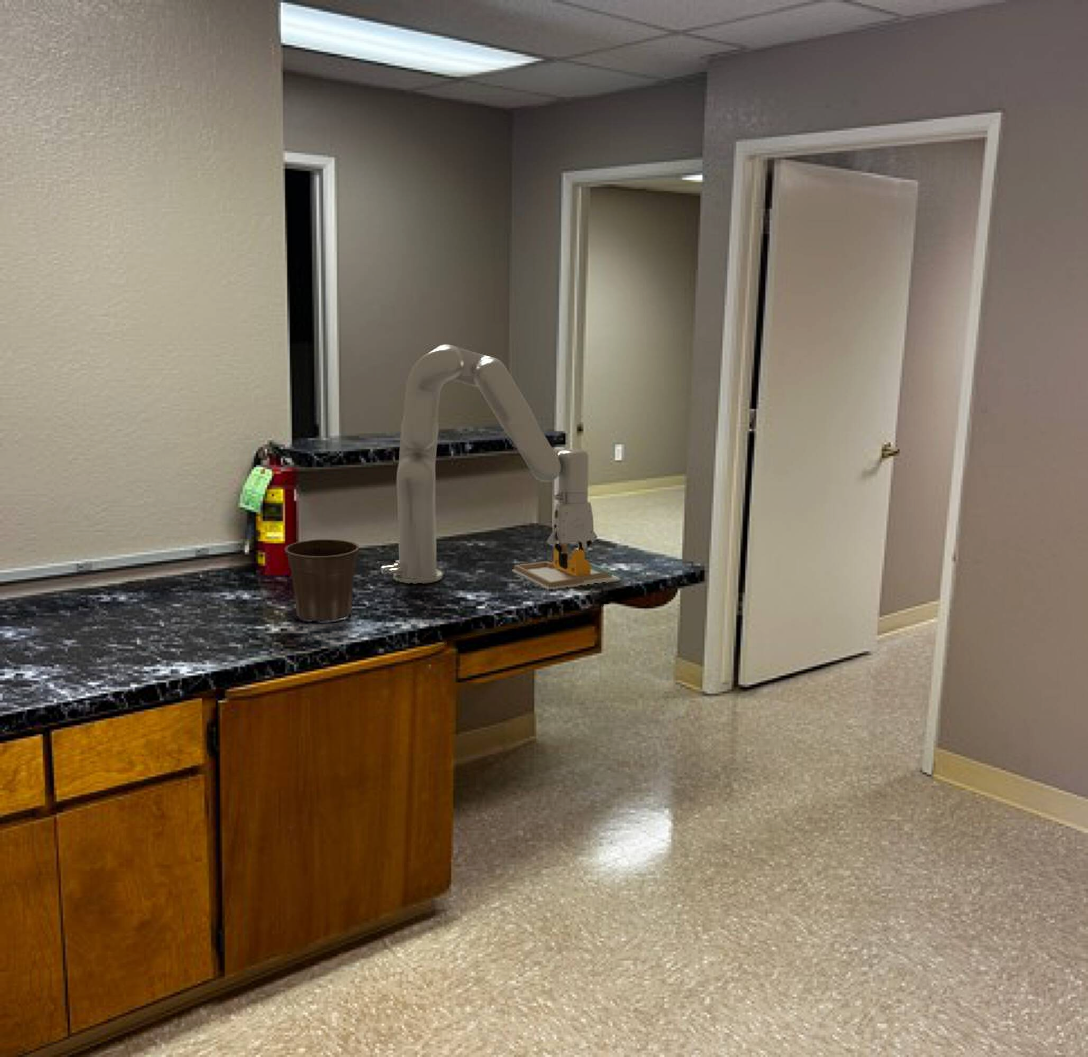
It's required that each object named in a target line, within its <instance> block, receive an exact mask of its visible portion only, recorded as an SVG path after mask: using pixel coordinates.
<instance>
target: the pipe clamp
mask: <svg viewBox="0 0 1088 1057" xmlns="http://www.w3.org/2000/svg"><path fill="white" fill-rule="evenodd" d="M555 542H556V543H558V541H555ZM566 554H567V555H568V562H567V569H564V568H562V567H560V566H559V552H557V550H556V549H555V548H554V547H553V563H554V567H556V568H558V569H561V570H563V571H565V572H567V573H569V574H571V575H573V576H580V575H587V574H590V573H591V563H592V562H590V561H587V559H586V556H585V551H584V550H581V549H580V550H577V549H572V551H571V557H570V555H569V554H568V549H567V548H566Z"/></svg>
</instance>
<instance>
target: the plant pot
mask: <svg viewBox="0 0 1088 1057" xmlns="http://www.w3.org/2000/svg"><path fill="white" fill-rule="evenodd" d="M359 550H360V546H359V544H357V543H355V542H354V541H349V540H344V539H328V538H327V539H326V538H325V539H323V538H322V539H310V540H303V541H298V542H297V541H296V542H294V543H293V542H292V543H291V544H289V545H286V546H285V547H284V552H285V553H286V554H287V559H288V566H289V568H290V572H291V579H292V587H293V595H294V603H295V611H296V613H295V614H296V617H297V616H298V617H299V618H302V619H305V620H316V621H320V620H321V621H327V620H336V619H340V618H344V617H347V616H349V615H350V614H351V615H352V610H353V609H352V607H353V593H354V592H353V591H354V577H355V566H356V565H357V556H358V551H359ZM349 617H350V616H349ZM316 621H315V622H316Z"/></svg>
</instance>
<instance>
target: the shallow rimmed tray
mask: <svg viewBox="0 0 1088 1057" xmlns="http://www.w3.org/2000/svg"><path fill="white" fill-rule="evenodd" d="M513 568H514V569H512V570H511V572H512V573H514V574H516V575H518V576H520V577H521V578H523V579H525V580H527V581H529V582H531V583H532V584H535V585H537V586H539V585H540V586H539V587H541V588H543V589H544V588H545V590H546V589H547V591H550V590H549V589H553V590H559V589H558V588H561V589H567V588H566V587H568V588H574V587H580V586H579V585H583V586H588V585H587V584H590V585H595V584H594V583H598V584H603V583H602V582H605V583H611V582H618V581H621V578H620V577H618V576H617V575H614V574H613V572H612V571H610V570H608V569H606V568H603V567H601V566H599V565H597V564H594V563H592V562H591V573H590V574H587V575H580V576H573V575H571V574H569V573H567V572H565V571H563V570H561V569H558V568H556V567H554V562H549V561H547V560H545V561H538V562H530V563H522V564H521V563H520V564H514V565H513Z"/></svg>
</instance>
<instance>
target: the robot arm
mask: <svg viewBox="0 0 1088 1057" xmlns="http://www.w3.org/2000/svg"><path fill="white" fill-rule="evenodd" d="M448 381H455V382H458V383H462V384H463V385H464V384H465V385H469V386H471V387H476V388H478V390H479V391H480V393H481V395H482V396H483V397H484V399H485V401H486V403H487V405H488V407H489V408H490V410H491V411H492V412H493V414H494V416H495V418H496V419H497V421H498V423H499V424H500V426H501V427H502V429H503V431H504V433H505V434H506V435H507V436H508V437H509V439H511V441H512V443H513V444H514V446H515V447H516V450H518V452H519V454H520V455H521V457H522V458H523V460H524V462H525V464H526V465H527V467H528V469H529V470H530V472H531V474H532V476H533V477H534V478H535V479H536V480H537V481H540V482H541V483H542V482H543V483H549V482H553V481H555V480H556V479H557V478H558V491H557V494H554V498H553V499H554V500H555V501H558V502H556V503H555V507H554V512H553V519H552V520H553V521H552V532H551V534H550V535H549V537H548V539H547V540H546V542H547V544H549V545H550V546H552V547H553V549H554V548H555V549H556V550H557V552H559V566H560V567H562V568H564V569H567V562H568V556H569V554H568V555H567V554H566V549H567V548H568V544H571V543H572V544H573V543H577V546H578V547H577V548H578V549H576V550H580V549H581V550H584V551H585V557H586V553H587V552H588V550H589V547H591V545H592V543H594V542H596V540H597V538H598V536H597V534H596V533H595V531H594V527H595V526H594V515H593V508H592V503H591V502H590V501H588V499H589V498H588V497H589V496H588V494H589V492H588V491H589V488H588V487H589V454H588V452H587V451H586V450H584V449H579V448H567V449H566V448H565V449H557V448H553V447H552V445H551V444H550V442H549V440H548V438H547V437H546V436H545V434H544V432H543V430H542V429H541V426H540V425H539V423H538V421H537V419H536V417H535V415H534V413H533V410H532V408H531V407H530V406H529V404H528V402H527V400H526V398H524V396H523V394H522V392H521V391H520V389H519V387H518V385H517V384H516V382H515V380H514V379H513V377H512V375H511V373H510V372H509V371H508V369H507V367H506V365H505V364H504V363H503V362H502V361H501V360H499V358H496V357H492V356H488V355H485V354H482V353H479V352H474V351H472V350H468V349H464V348H462V347H459V346H456V345H451V344H441V345H439V346H437V347H435V348H434V349H433V350H431V351H430V352H428V353H426V354H424V355H423V356H421V357H420V358H419V359H418V360H417V362H415V364H414V365H413V367H412V368H411V370H410V372H409V375H408V378H407V381H406V388H405V396H404V405H403V406H404V407H403V416H402V417H403V419H402V422H401V425H400V438H399V439H400V440H399V441H400V442H399V458H398V466H397V471H396V494H397V496H396V497H397V520H398V521H397V524H398V525H397V526H398V530H397V532H398V560H397V559H396V560H395V563H393V564H392V565H382V566H380V572H381V574H382V575H383V574H389V575H393V576H392V577H393V579H394V581H396V582H398V581H399V582H398V583H402V582H403V583H404V584H410V583H413V584H416V585H417V583H422V584H430V583H435V582H438V581H440V580H442V579H443V577H444V576H443V574H444V573H443V571H441V570H439V569H438V568H437V518H436V515H437V514H436V512H437V511H436V509H437V508H436V462H437V461H436V460H437V448H438V436H439V422H438V421H439V406H440V398H441V392H442V391H441V390H442V388H443V386H444V385H445V384H446V383H447V382H448ZM556 542H558V543H556Z"/></svg>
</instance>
